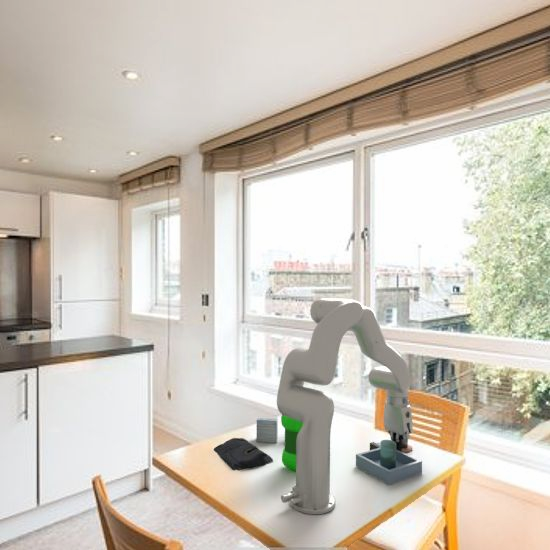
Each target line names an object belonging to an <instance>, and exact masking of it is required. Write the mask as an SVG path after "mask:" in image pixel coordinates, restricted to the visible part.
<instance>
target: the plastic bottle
mask: <svg viewBox="0 0 550 550" xmlns="http://www.w3.org/2000/svg"><path fill="white" fill-rule="evenodd" d="M280 419H281V420H280V423H281V426H282V427H283V428H284V449H283V451H282V455H281V462H282V464H283V466H284V467H286V469H288V471H290V472H291V473H296V439H297V435H298V433H299V431H300V430H301V428H302V426H303V423H302V422H300V421H298V420H295V419H292V418H289V417H286V416H284V415H282V414H281V416H280Z"/></svg>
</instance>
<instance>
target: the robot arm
mask: <svg viewBox="0 0 550 550" xmlns="http://www.w3.org/2000/svg"><path fill="white" fill-rule="evenodd" d="M309 310H310V311H309V314H310V317H311V319H312V321H313V322H314V323H315V324H316V326H315V327H314V330H313V332H312V335H311V339H310V343H309V347H308V348H302V347H301V348H299V347H297V348H294V349H292V350H291V351H289V352H288V354H287V355H286V356H285V358H284V361H283V365H282V369H281V375H280V380H279V384H278V391H277V395H276V406H277V410H278V412H279V413H280V414H281V416H282V415H284V416H286V417H289V418H292V419H295V420H298V421H300V422H302V423H303V426H302V428H301V430H300V431H299V433H298V435H297V439H296V472H295V485H294V486H292V491H290V492H288V493H285V494H281V496H280V500H281V502H282V503H283V504H285V503H288V502H290V503H289V504H290V505H291V506H292V508H294V509H295V510H296V511H298V512H300V513H303V514H308V515H323V514H327V513H329V512H330V511H332V510H333V509H334V508H335V506H336V498H335V496H334V495H333V494H332V493H331V491H330V490H331V489H330V488H331V487H330V486H331V429H332V424H333V417H334V414H335V413H334V412H335V404H334V403H335V402H334V400H333V399H332V397H331V396H330V395H329V394H328V393H327V392H326V393H325V392H324V391H321V390H319V389H314V388H311V387H305V386H304V384H305V383H308V384H311V385H315V386H316V385H318V386H322V387H323V386H328V385H330V384H331V383H332V382H333V380H334V378H335V373H336V369H337V364H338V358H339V353H340V346H341V342H342V339H343V338H344V336H345V334H346V333H348V331H350V332H353V334H354V337H355V338H356V341H357V344H358V345H359V348H360V351H361V353H362V354H363V355H365V356H366V357H367V358H369V359H371V360H372V361H374V362H376V363H378V364H380V365H382V366H375V367H373V368H372V369H371V370H370V371H369V373H368V376H367V377H368V382H369V384H370V385H371V386H372V387H373V388H376V389H378V390H383V391H386V395H385V396H386V398H385V399H386V401H385V403H384V408H383V427H384V430H385V432H387V433H388V434H389V436H390V440H392V441H394V442H396V450H398V451H402V441H403V440H404V439H408V440H409V439H411V437H410V434H412V433H413V431H414V430H413V426H414V425H413V416H412V408H411V406H410V403H411V402H410V400H409V390H410V389H411V386H412V377H411V373H410V370H409V366H408V365H407V362H406V361H405V359H404V357H403V356H402V355H401V354H400V353H399V352H397V350H395V349H394V348H393V347H392V346H391V345H390V344H389V343H387V342H386V340H385V338H384V334H383V332H382V329H381V326H380V323H379V320H378V319H377V315H376V313H375V312H374V310H373V309H371V308H370V307H368V306H365V305H362V303H361V302H359V301H357V300H354V299H348V298H325V297H320V298H318V299H316V300H314V301H313V303H311V306H310V309H309Z"/></svg>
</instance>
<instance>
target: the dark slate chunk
mask: <svg viewBox="0 0 550 550" xmlns="http://www.w3.org/2000/svg"><path fill="white" fill-rule="evenodd" d="M213 451H214V452H215V453H216V454H217V456H219V457H220V459H221V460H222V461H223V462H224V463H225V464H226V465H227V466H228V467H229V468H230V469H231V470H232V471H235V470H236V471H238V472H239V471H243V470H244V471H245V470H247V469H255V468H260V467H264V466H265V465H267V464H269V463H272V462H274V460H273V458H272V457H271V456H270V455H269V454H268V453H265V452H264V451H262V450H261V449H259V448H258V447H257V446H256V445H254V444H252V443H251V442H249V441H248V440H247V439H245V438H242V437H232V438H230V439H228V440H227V441H224V442H223V443H221V444H218V445H217V446H216V447H214V448H213Z"/></svg>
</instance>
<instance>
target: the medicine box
mask: <svg viewBox="0 0 550 550" xmlns="http://www.w3.org/2000/svg"><path fill="white" fill-rule="evenodd" d="M278 422H279V421H278V417H275V416H258V417H257V419H256V440H255V441H256V443H271V444H274V443H275V444H277V443H278V438H279V436H278V429H279V428H278Z"/></svg>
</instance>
